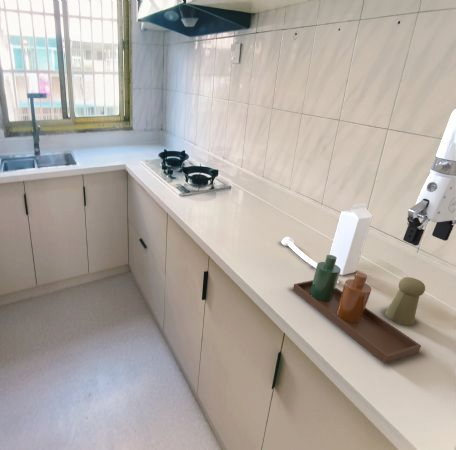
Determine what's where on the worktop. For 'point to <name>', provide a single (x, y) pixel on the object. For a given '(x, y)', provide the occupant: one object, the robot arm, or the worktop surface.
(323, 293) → the green bottle
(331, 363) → the worktop surface
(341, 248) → the milk
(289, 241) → the spatula
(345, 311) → the amber bottle
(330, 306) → the tray
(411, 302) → the cork
